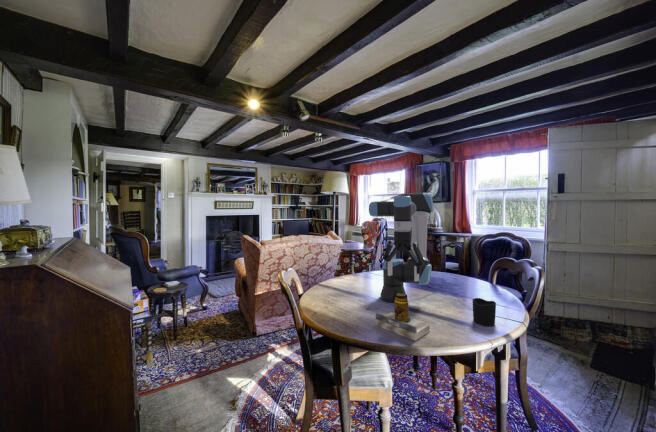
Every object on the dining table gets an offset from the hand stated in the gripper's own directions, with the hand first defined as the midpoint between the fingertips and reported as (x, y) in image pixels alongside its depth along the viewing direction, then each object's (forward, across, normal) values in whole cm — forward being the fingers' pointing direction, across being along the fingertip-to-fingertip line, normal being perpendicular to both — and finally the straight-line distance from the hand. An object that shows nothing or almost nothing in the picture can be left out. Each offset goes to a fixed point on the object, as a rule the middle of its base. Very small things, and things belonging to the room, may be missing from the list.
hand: (402, 278), depth 119 cm
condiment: (+20, 0, 0) cm, 20 cm away
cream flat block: (+22, 0, -1) cm, 23 cm away
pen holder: (+23, +23, +31) cm, 45 cm away
